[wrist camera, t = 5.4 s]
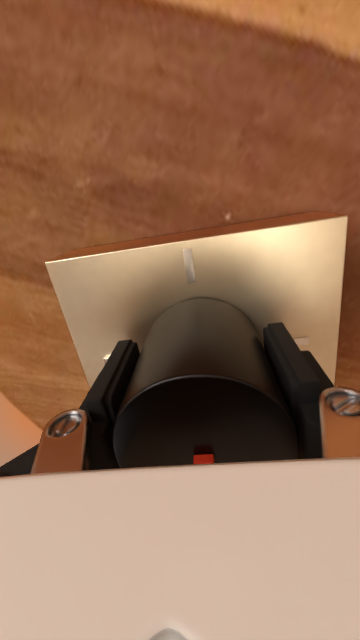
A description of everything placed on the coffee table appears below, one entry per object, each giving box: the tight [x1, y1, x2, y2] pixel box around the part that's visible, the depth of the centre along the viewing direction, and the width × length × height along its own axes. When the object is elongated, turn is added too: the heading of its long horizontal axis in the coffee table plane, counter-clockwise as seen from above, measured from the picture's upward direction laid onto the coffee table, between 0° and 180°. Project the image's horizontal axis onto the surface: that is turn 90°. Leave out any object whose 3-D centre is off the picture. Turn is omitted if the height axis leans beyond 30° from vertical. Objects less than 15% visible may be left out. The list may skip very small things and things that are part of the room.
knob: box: [112, 298, 299, 468], centre depth 10 cm, size 5×5×6 cm
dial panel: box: [45, 211, 348, 389], centre depth 14 cm, size 12×10×3 cm
